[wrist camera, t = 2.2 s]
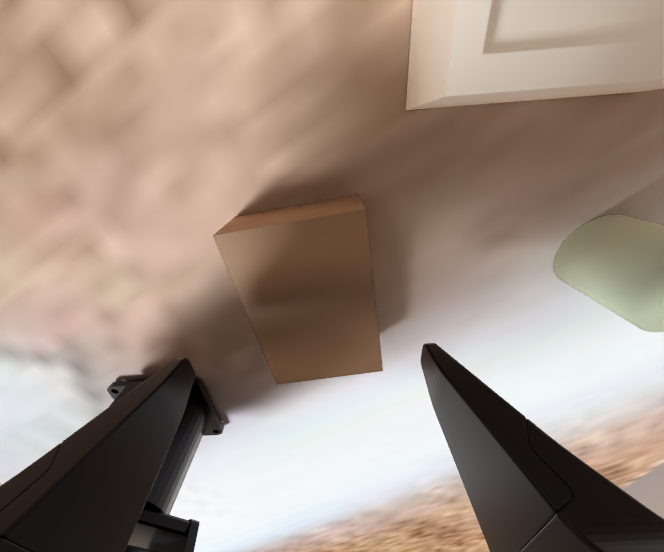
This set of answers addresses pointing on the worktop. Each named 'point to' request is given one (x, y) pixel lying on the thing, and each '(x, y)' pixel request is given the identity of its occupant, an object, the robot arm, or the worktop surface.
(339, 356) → the lid
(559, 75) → the box base
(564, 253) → the knob
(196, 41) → the worktop surface
